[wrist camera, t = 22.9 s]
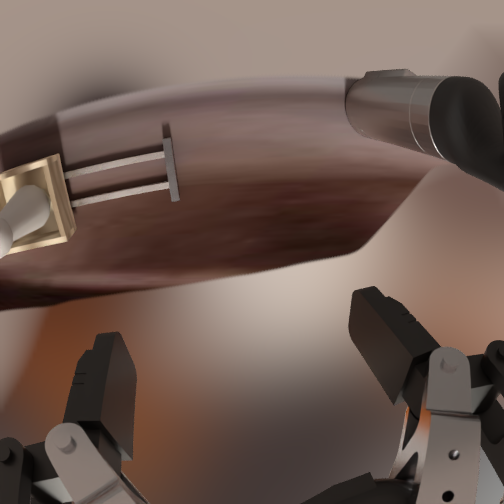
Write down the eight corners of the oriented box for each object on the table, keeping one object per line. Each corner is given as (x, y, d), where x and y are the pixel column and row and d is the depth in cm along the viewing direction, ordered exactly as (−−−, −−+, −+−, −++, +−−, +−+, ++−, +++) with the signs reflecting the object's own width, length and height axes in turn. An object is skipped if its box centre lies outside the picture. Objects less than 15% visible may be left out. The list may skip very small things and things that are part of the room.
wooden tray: (3, 171, 32) (-16, 180, 27) (62, 151, 33) (46, 158, 29) (22, 238, 37) (6, 254, 32) (79, 225, 38) (67, 241, 33)
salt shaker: (43, 231, 35) (0, 281, 23) (14, 206, 32) (-38, 248, 21) (63, 197, 34) (18, 239, 22) (32, 171, 31) (-22, 203, 20)
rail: (170, 132, 36) (169, 134, 34) (180, 200, 40) (180, 205, 38) (-9, 180, 32) (-16, 184, 30) (7, 236, 36) (1, 242, 34)
